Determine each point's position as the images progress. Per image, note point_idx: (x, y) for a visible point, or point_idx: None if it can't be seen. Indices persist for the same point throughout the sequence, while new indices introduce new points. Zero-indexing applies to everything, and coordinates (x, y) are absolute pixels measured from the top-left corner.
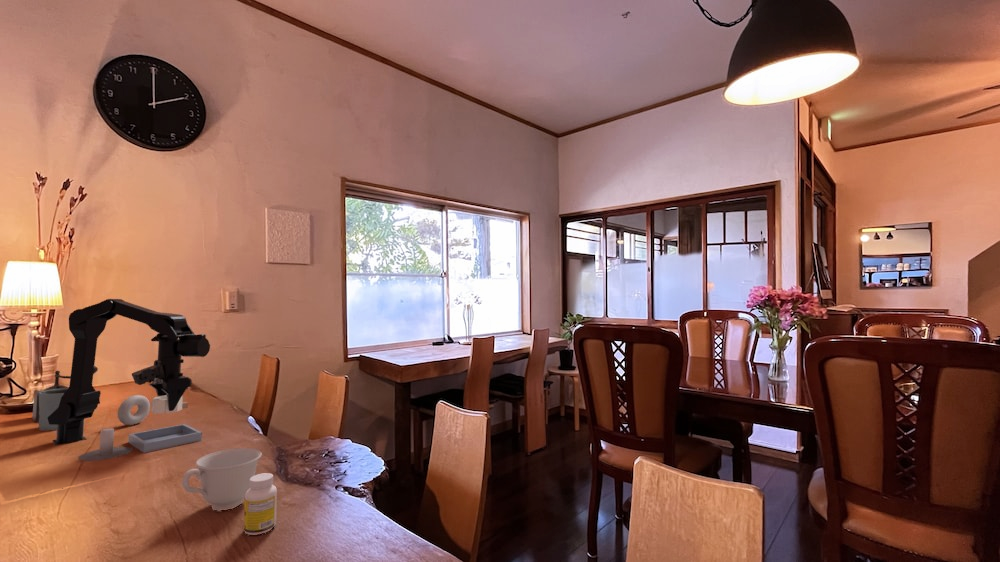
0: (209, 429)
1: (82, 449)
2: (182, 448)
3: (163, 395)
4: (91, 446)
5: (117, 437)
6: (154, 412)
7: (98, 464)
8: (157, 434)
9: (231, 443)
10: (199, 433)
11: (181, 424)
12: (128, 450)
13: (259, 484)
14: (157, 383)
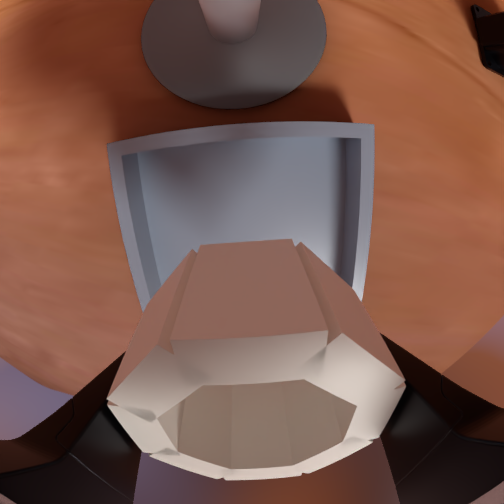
0: None
1: (399, 11)
2: (125, 265)
3: (397, 414)
4: (420, 41)
5: (471, 138)
6: (199, 253)
7: (129, 11)
8: (349, 234)
9: (104, 365)
10: None
11: None
12: (207, 93)
13: None
14: (500, 489)
